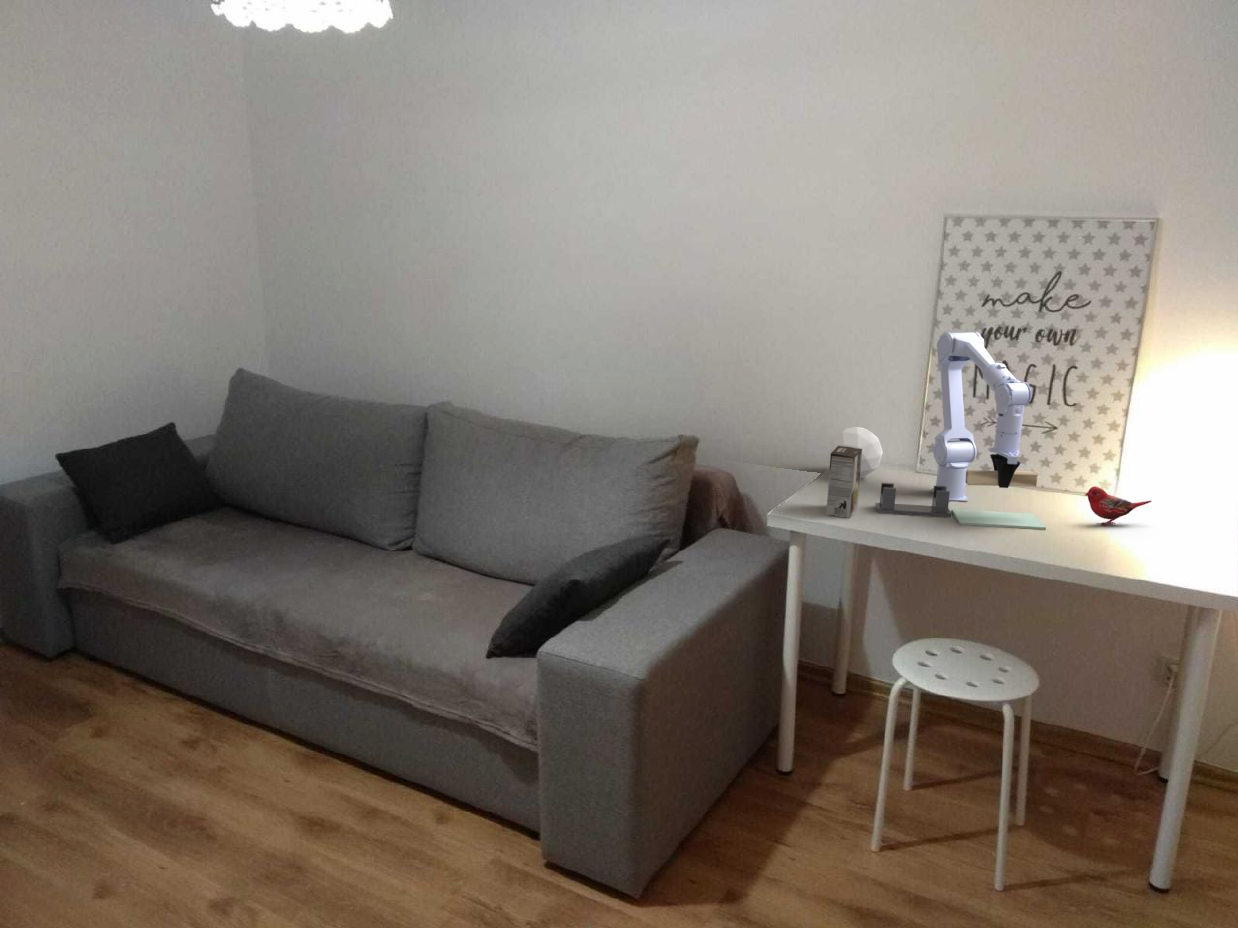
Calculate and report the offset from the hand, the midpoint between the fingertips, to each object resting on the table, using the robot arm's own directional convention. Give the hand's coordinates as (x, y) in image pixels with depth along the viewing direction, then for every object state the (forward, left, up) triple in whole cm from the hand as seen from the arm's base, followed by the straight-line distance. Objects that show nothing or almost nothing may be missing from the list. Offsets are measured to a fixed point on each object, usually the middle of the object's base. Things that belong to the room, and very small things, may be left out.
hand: (1001, 485), depth 233 cm
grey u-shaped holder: (-3, -20, -9) cm, 22 cm away
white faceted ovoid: (-33, -31, -9) cm, 46 cm away
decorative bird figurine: (-2, +28, -9) cm, 30 cm away
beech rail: (0, 0, 0) cm, 0 cm away
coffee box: (+1, -38, -9) cm, 39 cm away
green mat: (0, 0, -9) cm, 9 cm away
